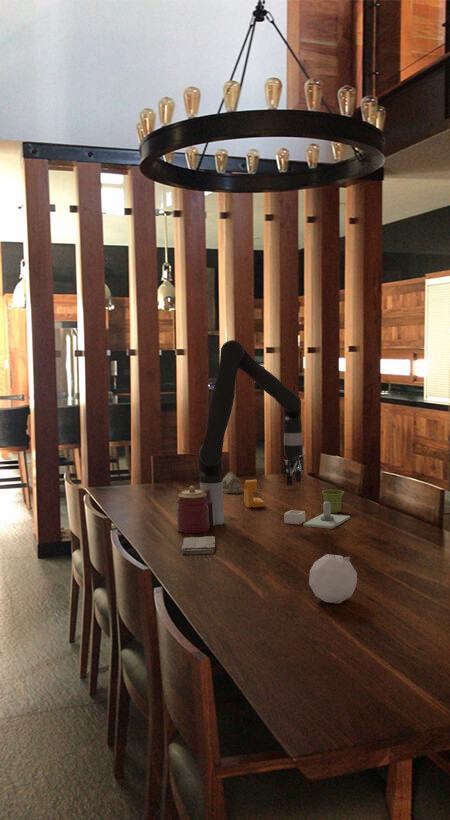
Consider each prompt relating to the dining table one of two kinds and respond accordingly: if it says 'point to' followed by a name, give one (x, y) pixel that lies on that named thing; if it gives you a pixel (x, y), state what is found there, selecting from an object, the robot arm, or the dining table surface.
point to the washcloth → (198, 545)
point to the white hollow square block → (294, 517)
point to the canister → (192, 511)
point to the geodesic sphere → (333, 578)
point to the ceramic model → (231, 484)
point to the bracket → (251, 494)
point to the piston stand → (326, 519)
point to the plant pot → (333, 499)
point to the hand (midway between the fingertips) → (294, 483)
